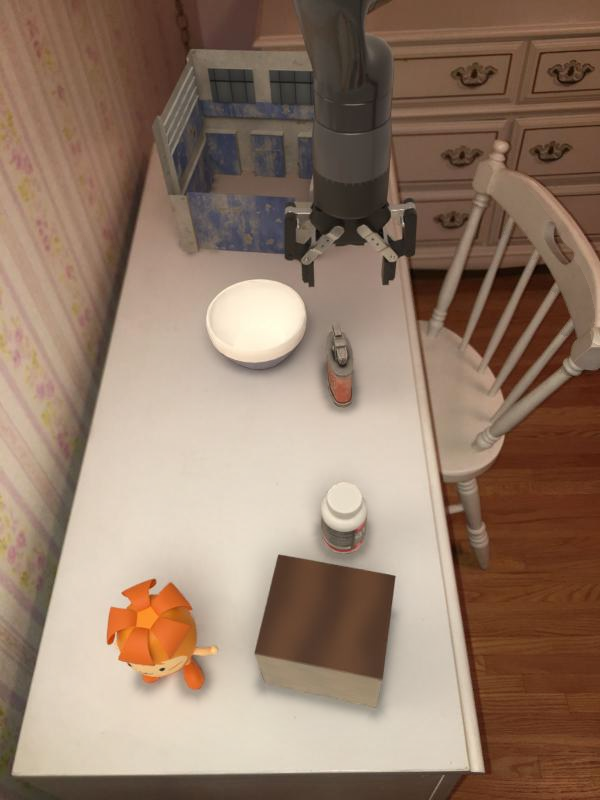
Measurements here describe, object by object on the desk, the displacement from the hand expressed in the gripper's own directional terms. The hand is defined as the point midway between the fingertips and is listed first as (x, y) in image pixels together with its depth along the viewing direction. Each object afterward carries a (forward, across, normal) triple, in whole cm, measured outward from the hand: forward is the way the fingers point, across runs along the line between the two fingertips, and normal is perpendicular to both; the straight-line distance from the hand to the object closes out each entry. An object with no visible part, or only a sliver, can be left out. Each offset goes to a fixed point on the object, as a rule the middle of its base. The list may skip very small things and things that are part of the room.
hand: (348, 281), depth 75 cm
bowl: (+22, -12, +9) cm, 27 cm away
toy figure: (+22, -20, -36) cm, 47 cm away
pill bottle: (+22, -1, -22) cm, 31 cm away
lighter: (+22, -1, +1) cm, 22 cm away
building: (+22, -14, +42) cm, 49 cm away
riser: (+22, -3, -36) cm, 42 cm away
